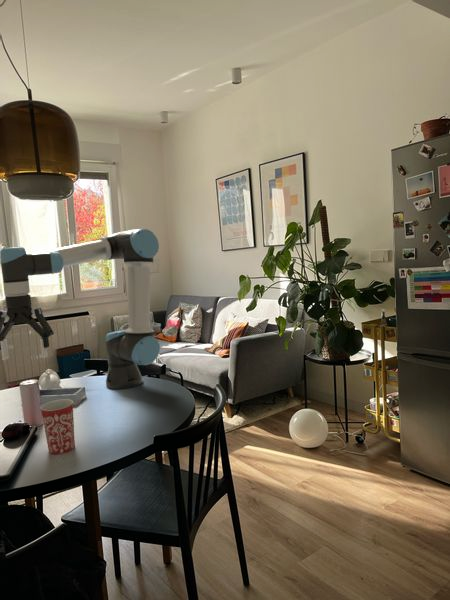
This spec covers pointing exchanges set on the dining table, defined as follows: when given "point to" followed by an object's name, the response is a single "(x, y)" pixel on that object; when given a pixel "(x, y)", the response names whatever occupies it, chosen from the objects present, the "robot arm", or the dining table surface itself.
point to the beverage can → (31, 402)
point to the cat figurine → (49, 380)
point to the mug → (59, 425)
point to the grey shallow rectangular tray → (63, 394)
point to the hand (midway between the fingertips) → (25, 358)
